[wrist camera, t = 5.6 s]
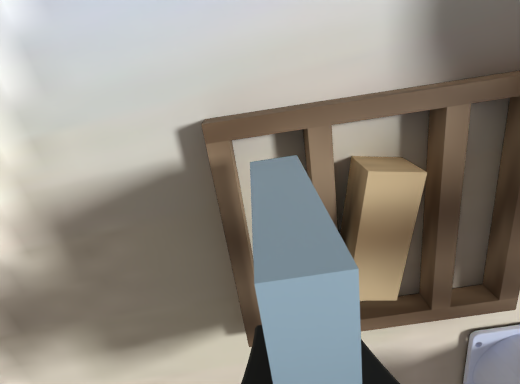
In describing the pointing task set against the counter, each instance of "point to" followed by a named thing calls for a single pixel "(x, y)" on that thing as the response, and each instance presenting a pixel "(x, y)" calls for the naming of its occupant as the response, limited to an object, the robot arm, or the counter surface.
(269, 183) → the panel
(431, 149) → the rack
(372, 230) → the offcut
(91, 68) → the counter surface
